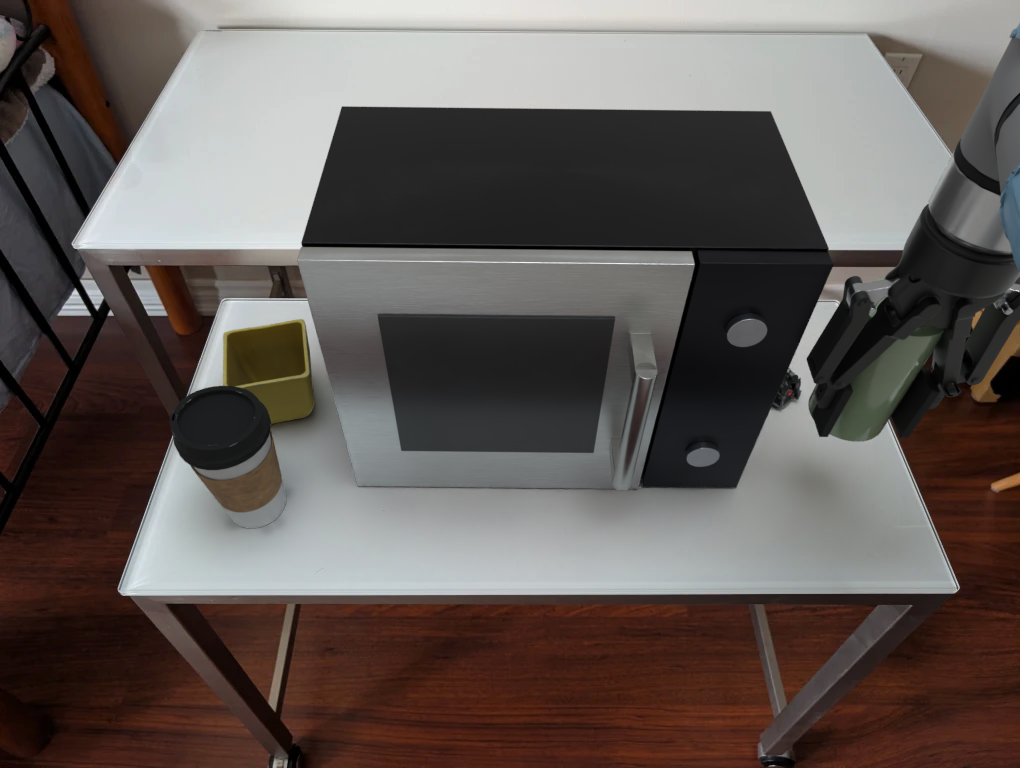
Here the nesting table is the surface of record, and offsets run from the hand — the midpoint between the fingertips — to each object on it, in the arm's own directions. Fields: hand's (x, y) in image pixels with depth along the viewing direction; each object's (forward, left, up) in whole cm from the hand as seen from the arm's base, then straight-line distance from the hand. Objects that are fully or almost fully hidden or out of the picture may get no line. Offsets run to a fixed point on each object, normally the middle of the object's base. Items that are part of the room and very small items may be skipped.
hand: (859, 425), depth 68 cm
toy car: (+17, -5, -13) cm, 22 cm away
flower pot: (+30, +51, -13) cm, 61 cm away
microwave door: (+10, +32, -13) cm, 36 cm away
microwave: (+20, +23, -13) cm, 33 cm away
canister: (+3, -1, -1) cm, 3 cm away
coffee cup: (+18, +55, -13) cm, 60 cm away
